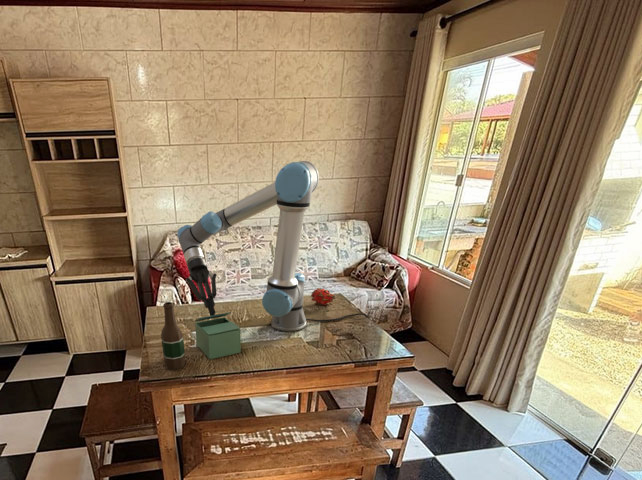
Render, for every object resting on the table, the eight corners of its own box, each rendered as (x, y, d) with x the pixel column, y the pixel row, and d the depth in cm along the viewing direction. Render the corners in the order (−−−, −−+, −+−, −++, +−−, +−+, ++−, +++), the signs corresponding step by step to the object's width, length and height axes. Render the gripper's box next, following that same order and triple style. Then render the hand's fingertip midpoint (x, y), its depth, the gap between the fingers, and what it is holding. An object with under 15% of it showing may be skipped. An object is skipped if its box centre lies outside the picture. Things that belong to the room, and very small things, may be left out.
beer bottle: (190, 364, 151) (184, 302, 139) (174, 372, 146) (166, 308, 134) (176, 358, 155) (169, 298, 144) (160, 365, 150) (152, 303, 139)
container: (196, 344, 166) (194, 320, 161) (225, 338, 170) (224, 315, 165) (209, 359, 154) (208, 334, 149) (240, 352, 158) (240, 327, 153)
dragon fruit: (308, 305, 206) (332, 310, 203) (307, 300, 198) (332, 305, 194) (313, 289, 206) (337, 294, 203) (312, 283, 198) (337, 289, 195)
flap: (194, 321, 161) (194, 320, 161) (224, 316, 165) (224, 315, 165) (199, 318, 154) (199, 317, 154) (231, 313, 158) (230, 312, 158)
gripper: (208, 265, 169) (226, 315, 164) (178, 269, 165) (195, 321, 160) (212, 254, 162) (230, 307, 157) (181, 258, 158) (198, 312, 153)
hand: (212, 314), depth 158 cm, fingers closed
